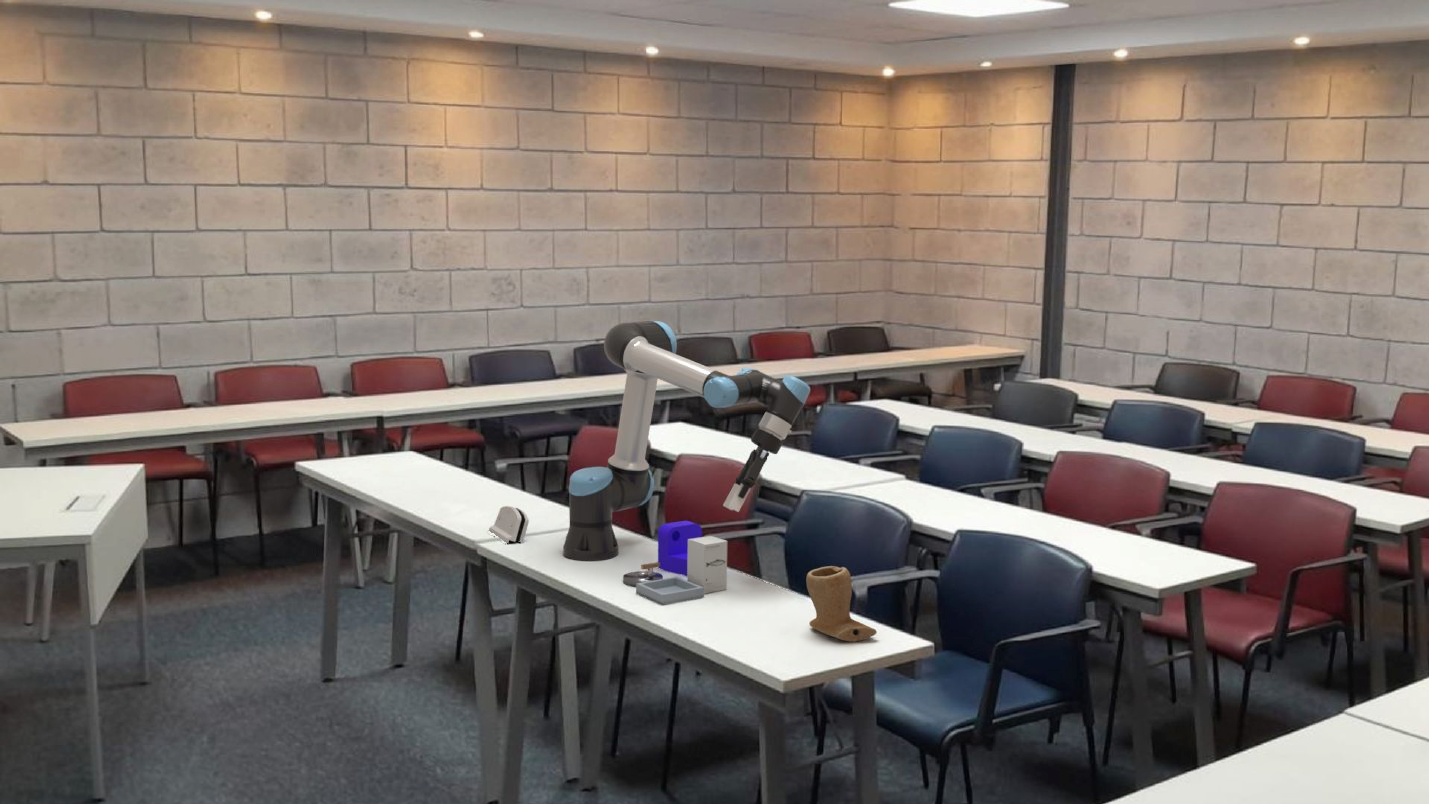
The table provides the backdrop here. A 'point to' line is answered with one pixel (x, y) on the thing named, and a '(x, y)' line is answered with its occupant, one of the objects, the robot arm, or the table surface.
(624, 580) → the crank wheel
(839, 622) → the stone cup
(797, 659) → the table surface
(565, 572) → the table surface
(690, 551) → the supplement box
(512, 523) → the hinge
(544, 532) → the table surface
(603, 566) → the table surface
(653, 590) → the tray
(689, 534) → the bracket
